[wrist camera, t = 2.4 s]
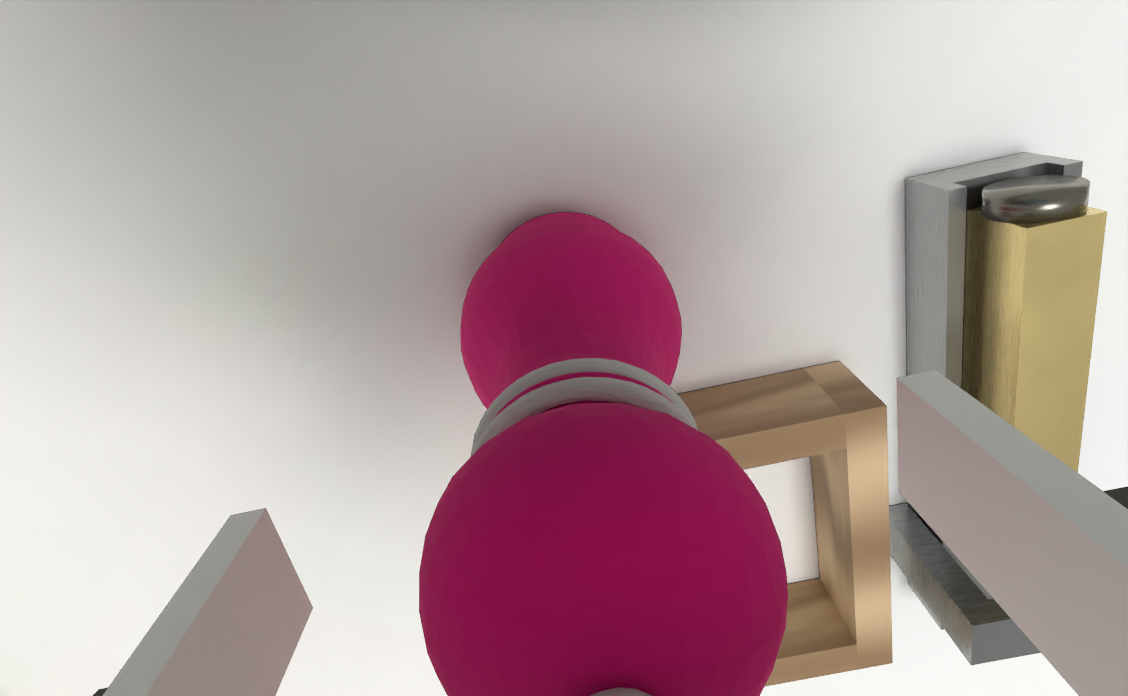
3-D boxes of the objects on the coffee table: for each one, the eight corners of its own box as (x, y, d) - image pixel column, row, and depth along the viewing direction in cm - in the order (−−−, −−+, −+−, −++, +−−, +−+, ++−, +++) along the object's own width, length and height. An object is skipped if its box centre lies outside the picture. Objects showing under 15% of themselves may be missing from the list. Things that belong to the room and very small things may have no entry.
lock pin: (961, 188, 22) (1021, 204, 20) (1045, 170, 22) (1116, 183, 19) (955, 452, 26) (1003, 496, 24) (1025, 438, 26) (1082, 481, 24)
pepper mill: (673, 210, 24) (1080, 621, 6) (640, 382, 27) (850, 1026, 9) (480, 186, 24) (284, 561, 5) (466, 364, 27) (303, 1015, 8)
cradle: (535, 423, 28) (534, 476, 24) (839, 360, 27) (886, 405, 23) (593, 644, 33) (600, 716, 29) (851, 595, 32) (892, 662, 28)
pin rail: (870, 185, 24) (989, 225, 18) (1060, 144, 24) (1251, 169, 18) (882, 589, 32) (968, 719, 26) (1026, 562, 32) (1150, 687, 25)
